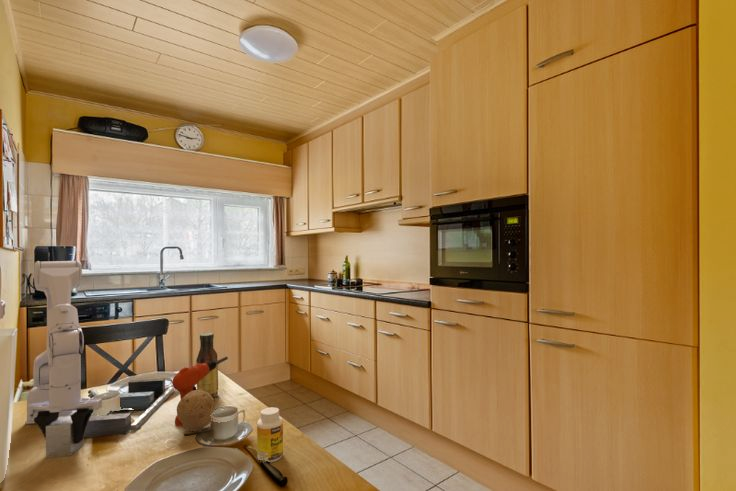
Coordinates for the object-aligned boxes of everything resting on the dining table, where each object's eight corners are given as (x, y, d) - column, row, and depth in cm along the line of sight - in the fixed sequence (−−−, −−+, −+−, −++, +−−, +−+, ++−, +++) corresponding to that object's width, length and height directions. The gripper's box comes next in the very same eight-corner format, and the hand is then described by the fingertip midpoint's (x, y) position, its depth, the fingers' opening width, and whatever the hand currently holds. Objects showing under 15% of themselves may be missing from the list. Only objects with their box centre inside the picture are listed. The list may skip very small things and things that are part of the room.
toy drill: (237, 396, 117) (232, 349, 115) (183, 430, 100) (177, 375, 99) (225, 394, 119) (220, 347, 117) (171, 427, 102) (164, 372, 101)
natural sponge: (185, 422, 103) (184, 385, 103) (219, 420, 104) (219, 383, 104) (171, 439, 94) (171, 397, 94) (209, 436, 95) (208, 396, 95)
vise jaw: (112, 411, 110) (112, 394, 110) (131, 396, 122) (131, 380, 122) (149, 409, 111) (149, 391, 111) (165, 394, 123) (165, 378, 123)
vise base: (73, 438, 95) (73, 421, 95) (128, 394, 124) (128, 381, 124) (133, 433, 97) (133, 417, 97) (173, 391, 126) (173, 379, 126)
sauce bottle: (202, 393, 124) (202, 331, 125) (221, 393, 124) (221, 331, 124) (192, 400, 118) (192, 335, 118) (212, 400, 118) (212, 335, 118)
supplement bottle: (271, 466, 81) (270, 417, 81) (251, 460, 84) (251, 412, 84) (288, 454, 86) (288, 408, 86) (269, 448, 89) (269, 403, 89)
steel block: (45, 457, 86) (45, 426, 86) (60, 446, 91) (60, 416, 91) (70, 455, 87) (70, 424, 87) (83, 444, 91) (83, 415, 92)
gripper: (16, 391, 84) (16, 454, 84) (90, 387, 86) (90, 448, 86) (39, 380, 91) (39, 438, 91) (106, 377, 93) (106, 433, 93)
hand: (65, 442), depth 89 cm, fingers closed on steel block, 5 cm apart
